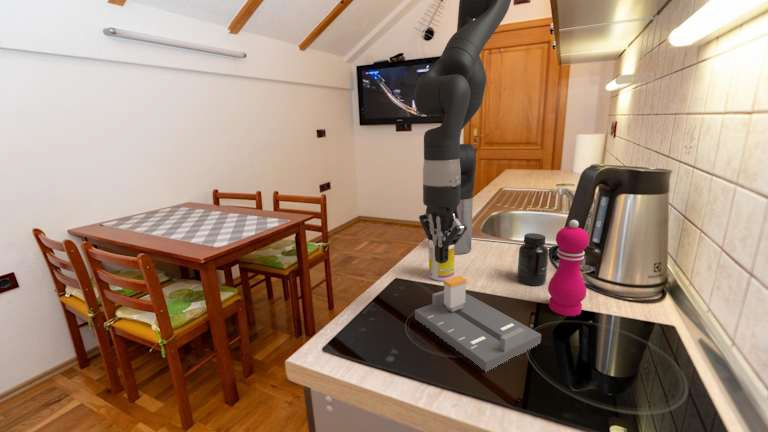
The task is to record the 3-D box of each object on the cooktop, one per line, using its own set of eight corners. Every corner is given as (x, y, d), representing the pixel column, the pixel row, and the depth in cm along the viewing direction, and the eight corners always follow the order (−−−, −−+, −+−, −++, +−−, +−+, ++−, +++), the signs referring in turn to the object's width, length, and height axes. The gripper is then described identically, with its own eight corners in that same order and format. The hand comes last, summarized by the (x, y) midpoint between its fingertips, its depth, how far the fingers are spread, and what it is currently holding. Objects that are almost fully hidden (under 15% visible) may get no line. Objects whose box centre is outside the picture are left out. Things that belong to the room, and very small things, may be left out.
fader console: (414, 318, 75) (414, 299, 74) (464, 300, 82) (464, 282, 80) (485, 372, 58) (486, 349, 57) (540, 343, 65) (542, 322, 64)
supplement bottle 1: (458, 275, 95) (459, 229, 91) (445, 284, 90) (445, 236, 87) (438, 269, 99) (438, 225, 96) (423, 277, 94) (423, 231, 91)
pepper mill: (582, 321, 72) (594, 226, 66) (543, 312, 75) (552, 222, 70) (584, 305, 77) (595, 217, 72) (549, 297, 81) (556, 213, 76)
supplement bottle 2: (548, 287, 86) (553, 240, 83) (519, 285, 88) (522, 240, 84) (542, 275, 93) (546, 232, 90) (515, 274, 94) (517, 231, 91)
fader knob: (443, 308, 74) (443, 280, 72) (458, 302, 76) (459, 275, 74) (450, 313, 72) (450, 284, 70) (465, 307, 74) (466, 279, 72)
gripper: (407, 180, 75) (409, 257, 79) (449, 187, 64) (448, 276, 68) (435, 176, 79) (435, 250, 83) (479, 183, 68) (477, 267, 72)
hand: (441, 261), depth 75 cm, fingers closed
